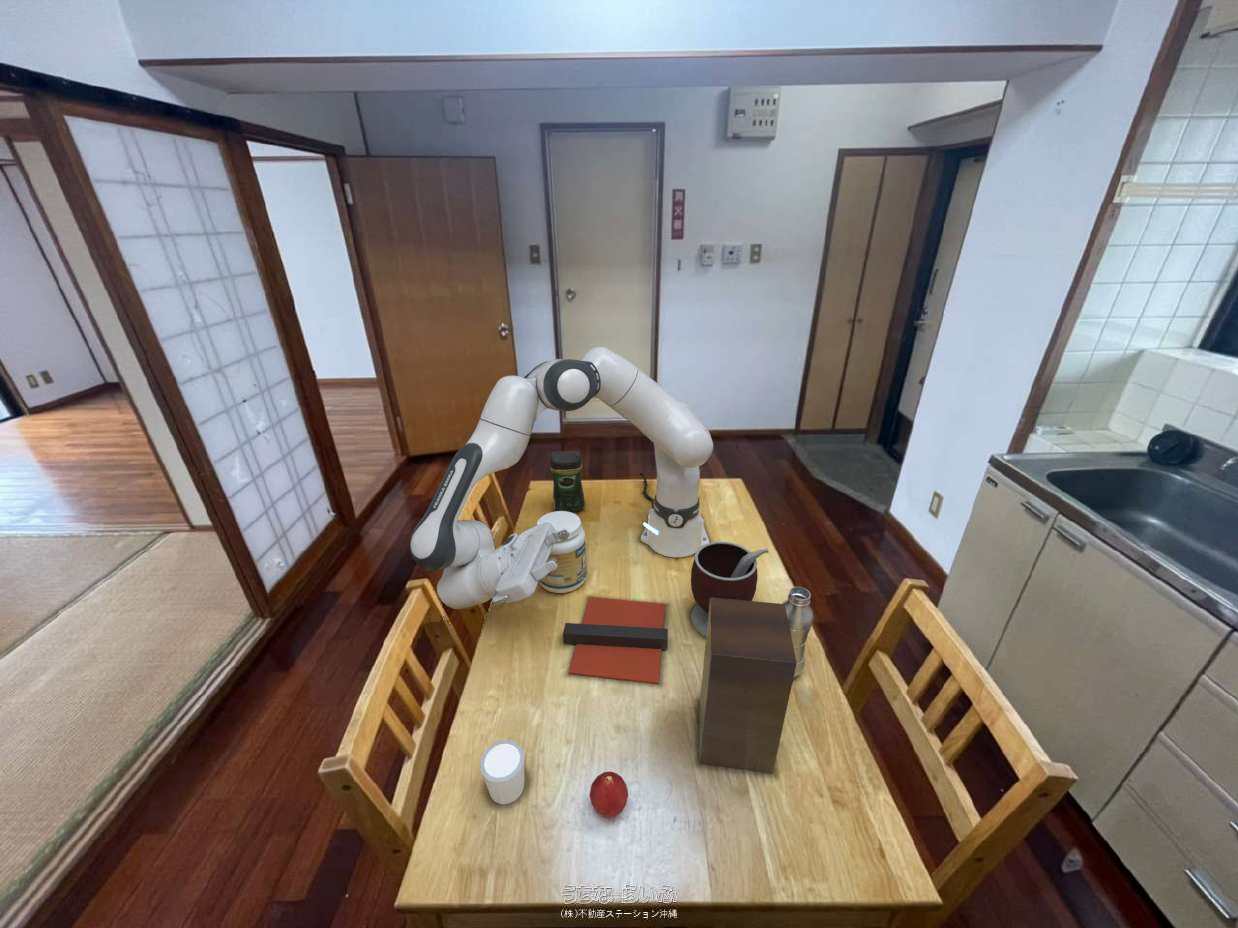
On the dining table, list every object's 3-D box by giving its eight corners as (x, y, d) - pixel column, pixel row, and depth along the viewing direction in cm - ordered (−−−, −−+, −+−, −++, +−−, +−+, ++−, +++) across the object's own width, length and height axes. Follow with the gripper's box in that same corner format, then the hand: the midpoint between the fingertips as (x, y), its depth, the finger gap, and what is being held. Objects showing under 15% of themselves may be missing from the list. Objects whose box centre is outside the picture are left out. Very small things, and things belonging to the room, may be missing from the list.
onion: (583, 813, 80) (581, 782, 76) (604, 781, 84) (603, 751, 81) (614, 835, 77) (613, 805, 74) (634, 802, 82) (635, 771, 78)
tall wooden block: (699, 702, 97) (710, 597, 85) (764, 709, 96) (784, 603, 84) (699, 763, 87) (711, 653, 75) (772, 773, 85) (796, 662, 73)
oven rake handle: (566, 632, 112) (565, 622, 111) (667, 638, 111) (667, 628, 109) (563, 643, 110) (562, 633, 108) (667, 649, 108) (667, 639, 107)
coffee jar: (584, 499, 162) (582, 446, 154) (584, 513, 155) (582, 458, 147) (553, 500, 162) (549, 447, 153) (552, 514, 155) (548, 459, 146)
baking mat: (589, 598, 123) (589, 596, 122) (665, 605, 120) (665, 603, 120) (568, 674, 103) (568, 672, 103) (658, 684, 101) (658, 682, 101)
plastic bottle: (804, 685, 101) (822, 607, 91) (768, 679, 102) (782, 602, 93) (800, 659, 106) (817, 583, 97) (766, 654, 107) (780, 579, 98)
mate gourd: (690, 643, 110) (696, 569, 101) (685, 598, 122) (690, 528, 113) (763, 644, 110) (776, 570, 100) (751, 599, 122) (761, 529, 113)
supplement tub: (589, 592, 124) (587, 535, 117) (538, 598, 123) (532, 540, 115) (584, 561, 135) (582, 506, 127) (537, 566, 133) (532, 510, 126)
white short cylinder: (477, 783, 84) (471, 757, 81) (514, 757, 88) (510, 731, 85) (498, 818, 80) (492, 791, 76) (536, 788, 83) (532, 762, 80)
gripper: (478, 594, 95) (538, 569, 90) (513, 530, 113) (565, 507, 108) (498, 617, 97) (557, 595, 92) (529, 551, 115) (581, 529, 110)
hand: (562, 547), depth 100 cm, fingers open, 8 cm apart
